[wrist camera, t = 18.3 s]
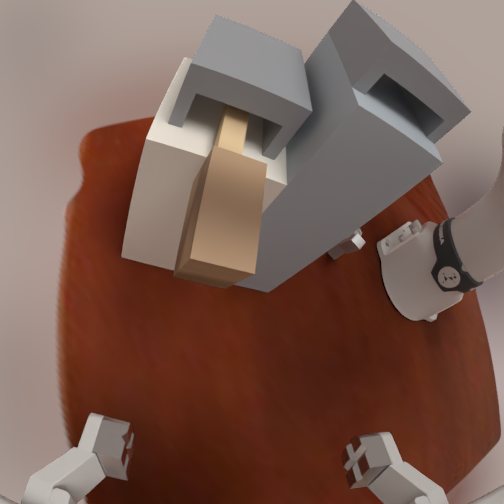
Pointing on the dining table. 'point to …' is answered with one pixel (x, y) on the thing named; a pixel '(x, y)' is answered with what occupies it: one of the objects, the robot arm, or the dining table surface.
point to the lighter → (347, 245)
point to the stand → (296, 136)
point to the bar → (223, 210)
